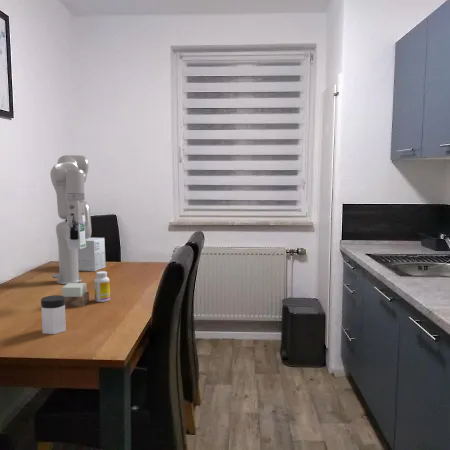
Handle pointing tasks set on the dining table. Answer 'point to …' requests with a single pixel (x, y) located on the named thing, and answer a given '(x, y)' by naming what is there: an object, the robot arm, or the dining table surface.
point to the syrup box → (81, 239)
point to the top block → (74, 289)
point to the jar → (53, 314)
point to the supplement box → (92, 255)
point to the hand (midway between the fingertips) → (76, 238)
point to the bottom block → (77, 300)
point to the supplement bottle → (102, 287)
